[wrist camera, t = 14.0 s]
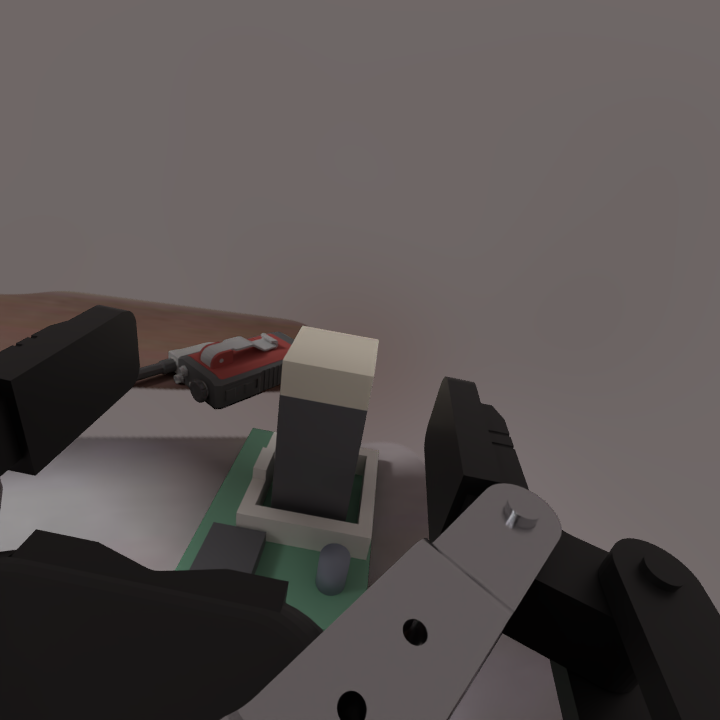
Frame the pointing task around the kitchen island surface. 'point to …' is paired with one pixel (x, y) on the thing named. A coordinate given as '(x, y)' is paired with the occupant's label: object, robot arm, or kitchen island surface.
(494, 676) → the kitchen island surface
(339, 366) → the grey and cream block
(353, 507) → the controller board
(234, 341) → the walkie-talkie
